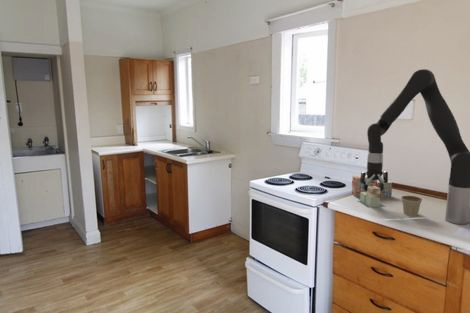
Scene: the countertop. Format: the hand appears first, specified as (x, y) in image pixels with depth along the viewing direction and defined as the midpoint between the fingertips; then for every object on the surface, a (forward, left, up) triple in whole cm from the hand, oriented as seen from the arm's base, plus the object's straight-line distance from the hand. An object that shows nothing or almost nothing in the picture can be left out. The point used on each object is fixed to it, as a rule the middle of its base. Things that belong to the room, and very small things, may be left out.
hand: (373, 190), depth 180 cm
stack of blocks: (-9, -19, -9) cm, 23 cm away
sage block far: (0, -7, -8) cm, 10 cm away
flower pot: (-12, +15, -9) cm, 21 cm away
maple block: (0, 0, -3) cm, 3 cm away
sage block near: (0, 0, -8) cm, 8 cm away
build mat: (-1, -3, -9) cm, 9 cm away
